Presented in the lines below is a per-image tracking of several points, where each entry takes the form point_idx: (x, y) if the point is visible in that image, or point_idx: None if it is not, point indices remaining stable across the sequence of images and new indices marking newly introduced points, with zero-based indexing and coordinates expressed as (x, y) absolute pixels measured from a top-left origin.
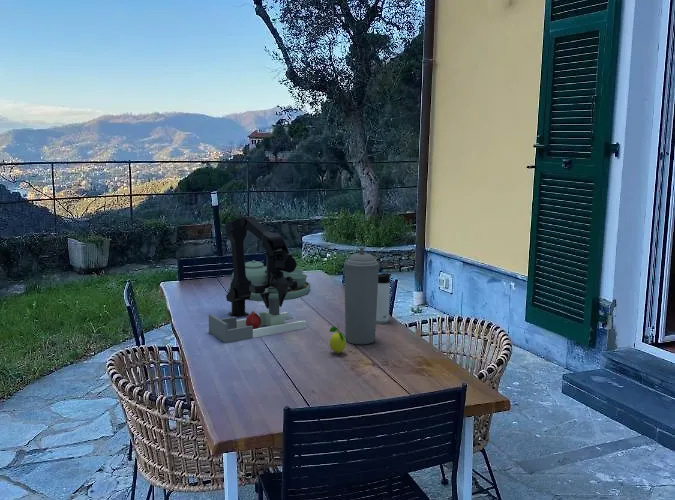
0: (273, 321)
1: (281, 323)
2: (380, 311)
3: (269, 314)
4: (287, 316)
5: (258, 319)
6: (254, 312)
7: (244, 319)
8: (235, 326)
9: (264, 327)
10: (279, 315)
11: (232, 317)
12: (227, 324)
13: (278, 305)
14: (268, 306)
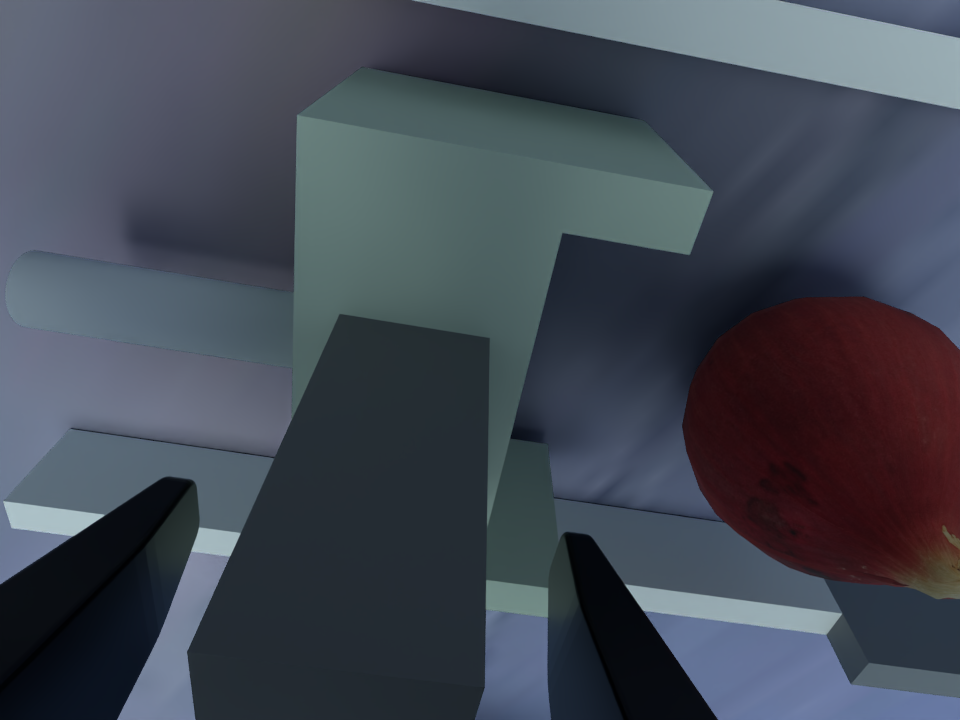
0: (627, 156)
1: (425, 99)
2: None
3: (506, 443)
4: (125, 302)
5: (870, 366)
6: (924, 552)
7: (720, 603)
8: None
9: (919, 85)
10: (381, 257)
11: (908, 680)
12: (949, 606)
13: (305, 471)
14: (588, 574)
